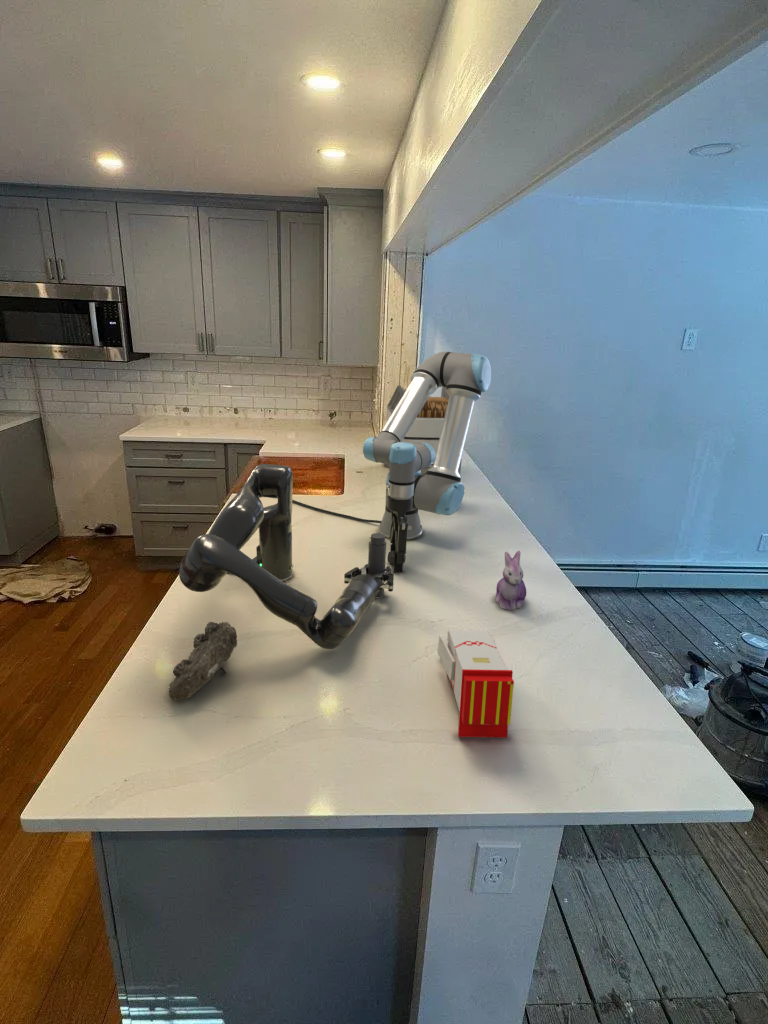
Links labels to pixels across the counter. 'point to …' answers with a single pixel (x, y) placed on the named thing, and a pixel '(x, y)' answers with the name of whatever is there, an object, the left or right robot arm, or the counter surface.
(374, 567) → the jar
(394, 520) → the right robot arm
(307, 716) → the counter surface
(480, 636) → the toy
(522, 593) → the figurine
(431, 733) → the counter surface
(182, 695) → the fossil
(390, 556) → the lid
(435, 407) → the white slatted crate
